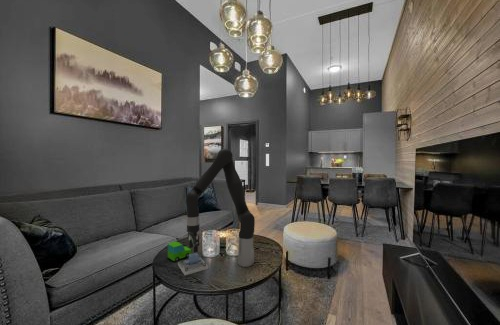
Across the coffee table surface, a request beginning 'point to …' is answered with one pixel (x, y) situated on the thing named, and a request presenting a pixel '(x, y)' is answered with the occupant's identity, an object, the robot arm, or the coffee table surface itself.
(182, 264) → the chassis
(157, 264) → the coffee table surface
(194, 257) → the block
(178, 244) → the toy car
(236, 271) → the coffee table surface
